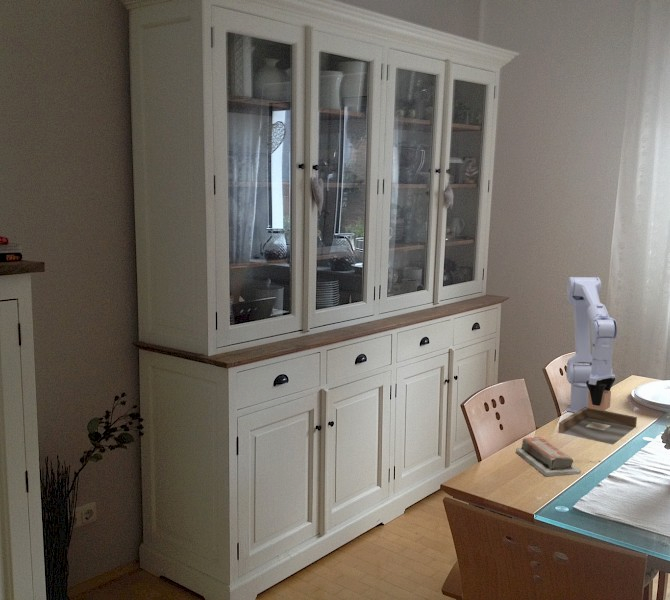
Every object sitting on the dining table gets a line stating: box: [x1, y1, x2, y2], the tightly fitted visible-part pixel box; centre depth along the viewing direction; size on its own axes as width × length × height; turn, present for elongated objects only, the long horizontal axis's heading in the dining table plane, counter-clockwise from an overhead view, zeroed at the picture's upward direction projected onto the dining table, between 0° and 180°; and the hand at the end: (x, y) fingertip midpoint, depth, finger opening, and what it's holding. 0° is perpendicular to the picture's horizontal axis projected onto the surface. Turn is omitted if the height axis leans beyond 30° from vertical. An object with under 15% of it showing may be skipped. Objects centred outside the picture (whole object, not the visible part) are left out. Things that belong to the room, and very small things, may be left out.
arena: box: [558, 407, 638, 445], centre depth 219 cm, size 20×16×4 cm
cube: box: [588, 390, 612, 411], centre depth 221 cm, size 5×5×5 cm
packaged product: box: [515, 436, 582, 477], centre depth 196 cm, size 18×5×10 cm
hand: (599, 402), depth 221 cm, fingers closed on cube, 5 cm apart
